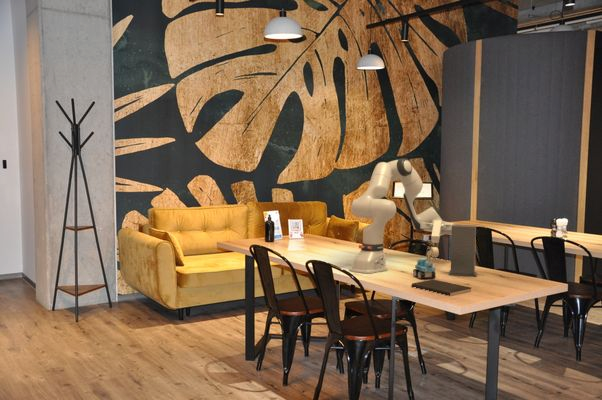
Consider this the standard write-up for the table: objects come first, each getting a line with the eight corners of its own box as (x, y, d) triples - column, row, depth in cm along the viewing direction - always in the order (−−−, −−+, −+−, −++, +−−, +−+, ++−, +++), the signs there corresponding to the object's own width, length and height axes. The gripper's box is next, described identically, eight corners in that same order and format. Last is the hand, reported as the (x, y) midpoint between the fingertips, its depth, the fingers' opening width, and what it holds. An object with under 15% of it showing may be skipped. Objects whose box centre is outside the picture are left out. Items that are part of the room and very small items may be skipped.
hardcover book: (433, 283, 301) (433, 279, 300) (471, 292, 282) (471, 287, 282) (411, 288, 291) (411, 283, 291) (449, 297, 273) (449, 292, 273)
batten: (438, 242, 331) (438, 236, 329) (431, 242, 332) (431, 235, 330) (441, 226, 348) (441, 220, 347) (434, 226, 349) (434, 220, 348)
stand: (476, 277, 315) (477, 227, 313) (448, 275, 319) (449, 226, 317) (476, 273, 324) (478, 225, 322) (449, 271, 329) (450, 224, 327)
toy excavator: (427, 282, 301) (427, 248, 300) (411, 276, 317) (412, 243, 316) (442, 281, 304) (443, 247, 302) (426, 275, 320) (427, 242, 318)
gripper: (421, 221, 361) (419, 219, 348) (456, 223, 355) (455, 221, 342) (420, 231, 360) (418, 230, 347) (455, 233, 355) (455, 232, 342)
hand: (437, 225), depth 345 cm, fingers closed on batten, 4 cm apart
